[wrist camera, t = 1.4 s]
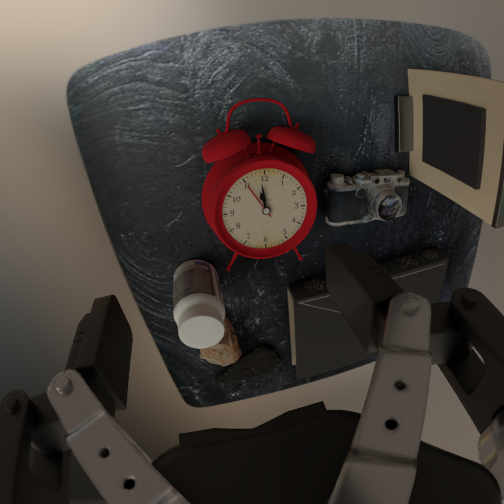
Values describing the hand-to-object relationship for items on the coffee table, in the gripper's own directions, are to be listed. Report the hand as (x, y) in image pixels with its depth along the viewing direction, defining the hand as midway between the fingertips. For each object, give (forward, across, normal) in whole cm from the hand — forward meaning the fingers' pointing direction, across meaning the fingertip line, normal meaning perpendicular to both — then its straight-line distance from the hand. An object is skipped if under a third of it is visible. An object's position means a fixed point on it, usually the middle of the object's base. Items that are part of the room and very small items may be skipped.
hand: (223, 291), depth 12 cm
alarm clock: (+19, -5, +2) cm, 20 cm away
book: (+20, -17, +22) cm, 34 cm away
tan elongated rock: (+20, +3, +21) cm, 29 cm away
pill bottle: (+20, +3, +11) cm, 23 cm away
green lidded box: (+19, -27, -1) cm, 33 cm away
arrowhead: (+19, -4, +26) cm, 33 cm away
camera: (+19, -16, +6) cm, 26 cm away
